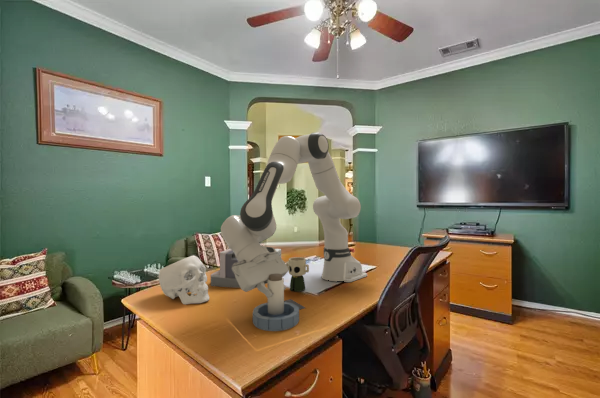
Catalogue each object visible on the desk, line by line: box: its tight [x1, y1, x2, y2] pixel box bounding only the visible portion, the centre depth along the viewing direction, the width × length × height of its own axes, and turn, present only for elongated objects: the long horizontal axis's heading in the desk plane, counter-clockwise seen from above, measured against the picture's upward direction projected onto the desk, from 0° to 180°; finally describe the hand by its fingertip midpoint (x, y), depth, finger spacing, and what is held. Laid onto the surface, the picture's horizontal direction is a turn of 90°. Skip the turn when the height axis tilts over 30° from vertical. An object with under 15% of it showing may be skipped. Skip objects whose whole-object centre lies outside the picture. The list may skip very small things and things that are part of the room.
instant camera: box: [210, 248, 241, 289], centre depth 131 cm, size 21×21×15 cm
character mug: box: [285, 256, 310, 292], centre depth 116 cm, size 11×7×13 cm, turn 59°
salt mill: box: [267, 274, 285, 315], centre depth 87 cm, size 5×5×11 cm
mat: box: [284, 298, 306, 311], centre depth 99 cm, size 10×10×1 cm
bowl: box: [252, 302, 300, 332], centre depth 87 cm, size 14×14×4 cm
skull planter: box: [158, 254, 210, 305], centre depth 109 cm, size 14×20×19 cm
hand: (277, 293), depth 87 cm, fingers closed on salt mill, 5 cm apart
